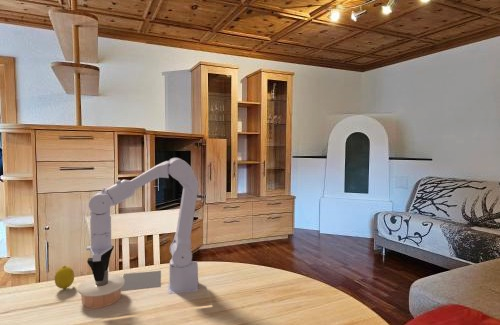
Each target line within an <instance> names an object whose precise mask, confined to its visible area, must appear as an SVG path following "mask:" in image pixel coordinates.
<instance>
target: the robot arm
mask: <svg viewBox="0 0 500 325" xmlns="http://www.w3.org/2000/svg"><path fill="white" fill-rule="evenodd" d="M169 175H170V176H171V177H172V178H173V179H175V180H176V181H178V183H179V184H180V185H181V186H182V194H181V198H180V206H179V212H178V217H177V219H178V220H177V225H176V230H175V231H176V232H175V234H174V238H173V241H172V242H171V243H170V246H169V252H170V254H171V259H170V260H169V282H168V283H167V286H168V287H167V288H168V290H167V291H168V292H167V294H170V295H172V294H179V293H181V294H182V293H189V292H197V291H199V289H198V288H199V267H198V260H197V261H196V260H195V261H194V260H193V253H192V239H191V235H192V229H193V223H194V219H195V218H194V216H195V210H196V206H197V205H196V204H197V198H198V192H199V182H198V179H197V177H196V175H195V173H194V170H193V168H192V166H191V165H190V164H189V163H188V162H187V161H185V160H183V159H182V158H180V157H172V158H170V159H169V160H165V161H163V162H160V163H158V164H156V165H155V166H153V167H151V168H150V169H148V170H146V171H144V172H142V173H141V174H140V175H137V176H136V177H134V178H132V179H131V180H129V179H118V180H116V181H115V184H113V185H111V186H109V187H107V188H106V189H105V188H102V189H101V190H100V191H101V192H96V193H94V195H93V196H92V197H91V198H90V199H89V202H88V209H89V210H90V215H89V216H90V218H89V220H90V223H89V226H90V230H89V232H90V245H88V246H86V251H90V252H91V255H92V257H89V258H88V259H87V261H86V262H87V265H88V266H89V267H90V269H91V272H92V275H93V277H94V279H95V281H96V282H97V281H103V279H104V274H105V270H108V271H109V266H110V259H111V255H112V252H113V250H114V248H115V246H114V245H113V244H112V216H111V207H112V206H117V205H119V204H120V203H122V202H123V201H125V200H127V199H129V198H132V196H134V195H135V193H136V190H137V189H139V188H140V187H143V186H145V185H146V184H149V183H151V182H153V181H154V180H157V179H158V178H159V179H160V178H163V179H169Z"/></svg>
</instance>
